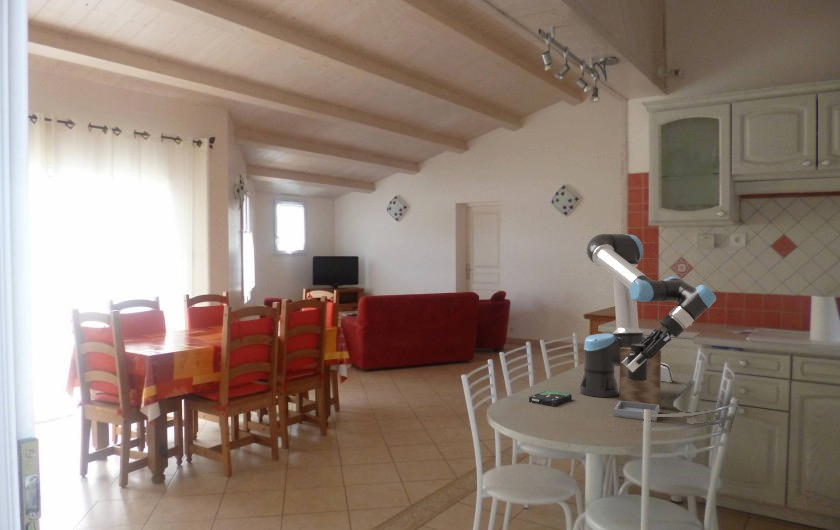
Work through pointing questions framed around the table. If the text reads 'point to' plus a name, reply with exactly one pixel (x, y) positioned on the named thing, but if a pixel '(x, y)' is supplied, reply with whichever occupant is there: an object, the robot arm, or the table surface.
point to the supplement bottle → (642, 370)
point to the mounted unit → (641, 389)
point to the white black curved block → (666, 373)
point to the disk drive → (550, 398)
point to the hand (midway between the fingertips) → (627, 367)
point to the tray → (634, 409)
